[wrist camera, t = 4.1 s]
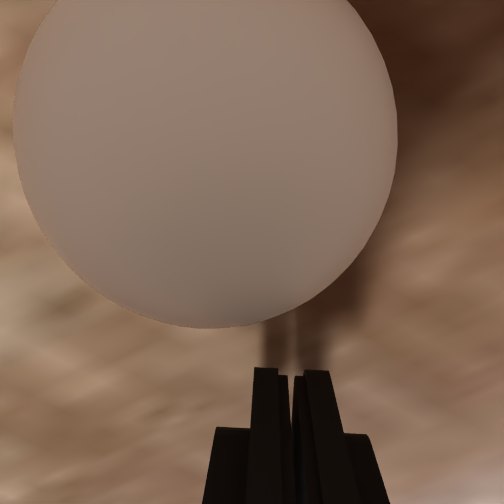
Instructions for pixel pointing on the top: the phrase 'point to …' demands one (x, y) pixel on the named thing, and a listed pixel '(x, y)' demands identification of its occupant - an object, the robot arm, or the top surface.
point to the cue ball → (205, 150)
